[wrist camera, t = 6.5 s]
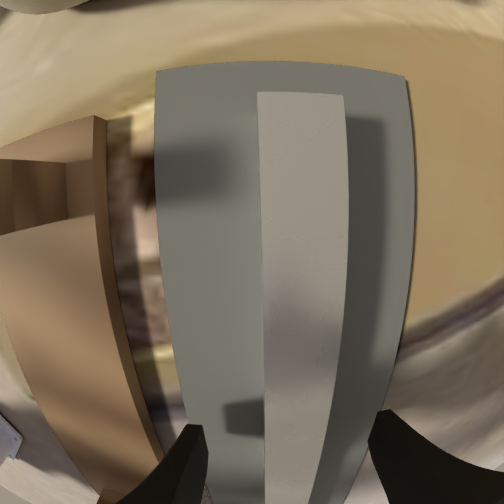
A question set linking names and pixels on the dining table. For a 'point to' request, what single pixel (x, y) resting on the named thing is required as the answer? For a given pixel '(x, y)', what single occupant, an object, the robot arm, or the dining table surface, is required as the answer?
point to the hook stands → (72, 304)
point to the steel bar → (300, 279)
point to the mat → (249, 261)
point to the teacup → (39, 5)
